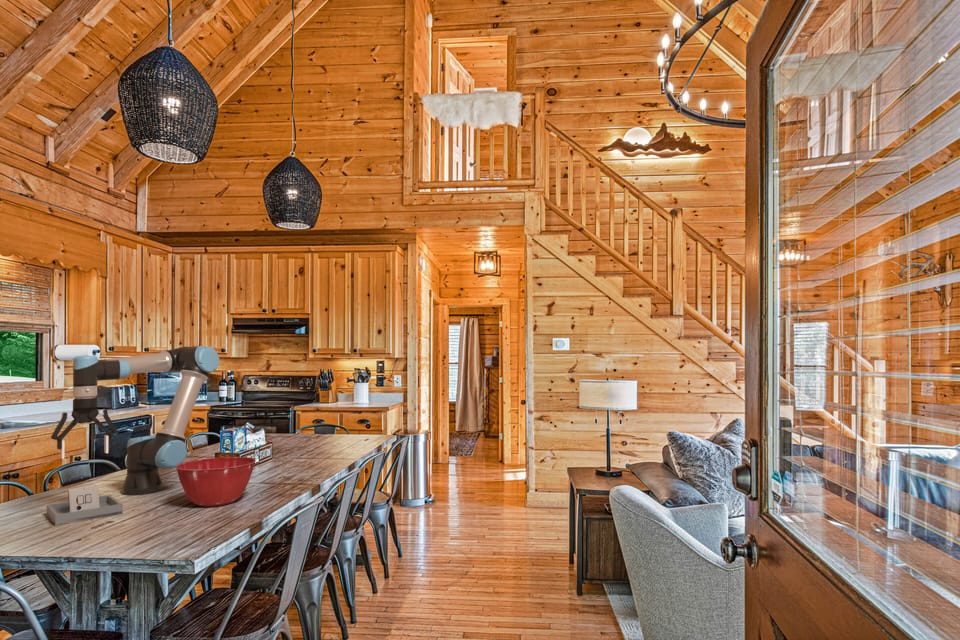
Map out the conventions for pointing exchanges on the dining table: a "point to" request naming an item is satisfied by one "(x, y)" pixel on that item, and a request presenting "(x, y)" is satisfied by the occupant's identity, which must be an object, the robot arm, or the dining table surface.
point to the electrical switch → (83, 498)
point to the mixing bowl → (215, 479)
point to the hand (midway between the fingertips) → (84, 455)
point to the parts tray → (84, 511)
